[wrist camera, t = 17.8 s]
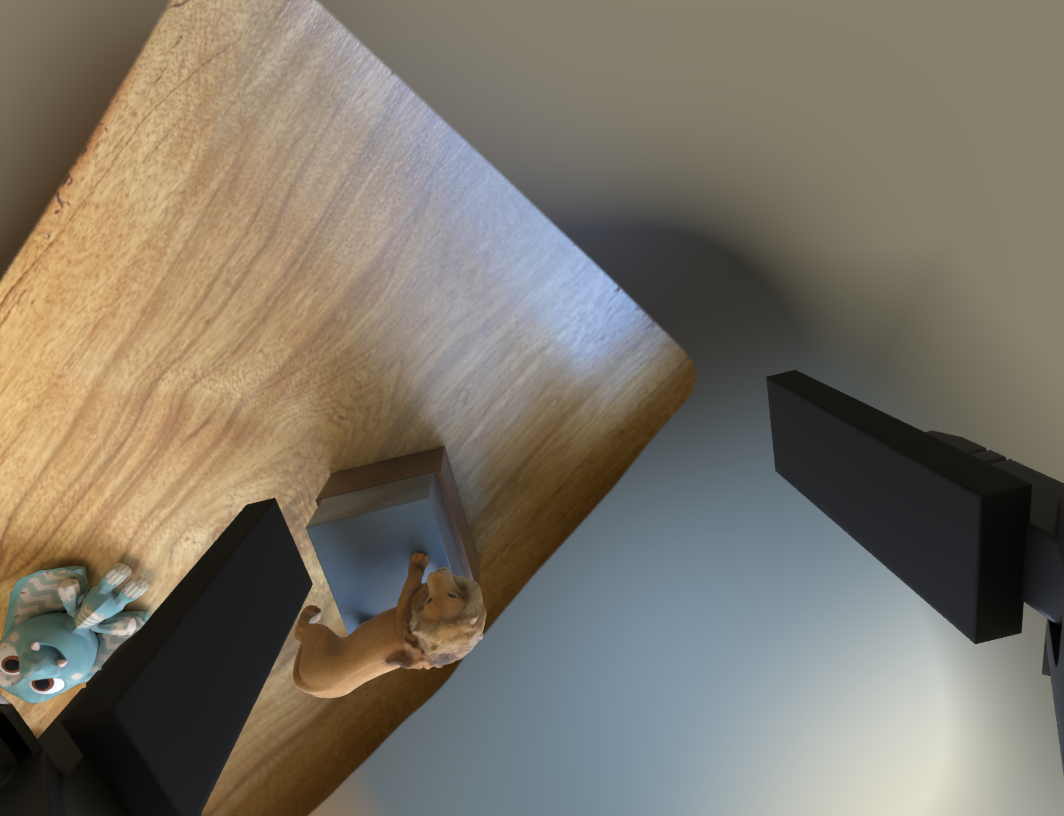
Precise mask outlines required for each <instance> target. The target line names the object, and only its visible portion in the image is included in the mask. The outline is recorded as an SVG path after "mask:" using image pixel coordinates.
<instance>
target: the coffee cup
mask: <svg viewBox="0 0 1064 816" xmlns="http://www.w3.org/2000/svg"><path fill="white" fill-rule="evenodd" d="M0 704H9V703H8V702H7V701H6V700H5V699H4V698H3V697H2V696H1V695H0Z"/></svg>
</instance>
